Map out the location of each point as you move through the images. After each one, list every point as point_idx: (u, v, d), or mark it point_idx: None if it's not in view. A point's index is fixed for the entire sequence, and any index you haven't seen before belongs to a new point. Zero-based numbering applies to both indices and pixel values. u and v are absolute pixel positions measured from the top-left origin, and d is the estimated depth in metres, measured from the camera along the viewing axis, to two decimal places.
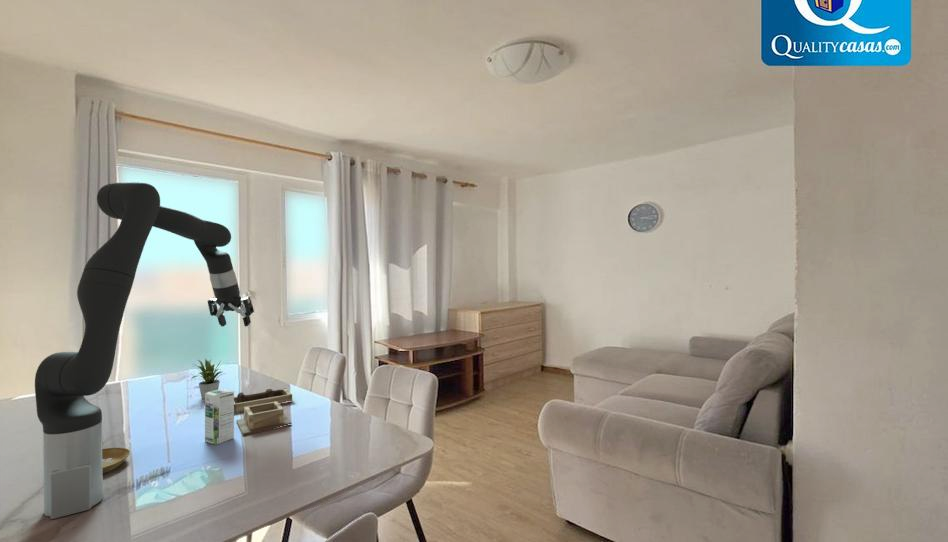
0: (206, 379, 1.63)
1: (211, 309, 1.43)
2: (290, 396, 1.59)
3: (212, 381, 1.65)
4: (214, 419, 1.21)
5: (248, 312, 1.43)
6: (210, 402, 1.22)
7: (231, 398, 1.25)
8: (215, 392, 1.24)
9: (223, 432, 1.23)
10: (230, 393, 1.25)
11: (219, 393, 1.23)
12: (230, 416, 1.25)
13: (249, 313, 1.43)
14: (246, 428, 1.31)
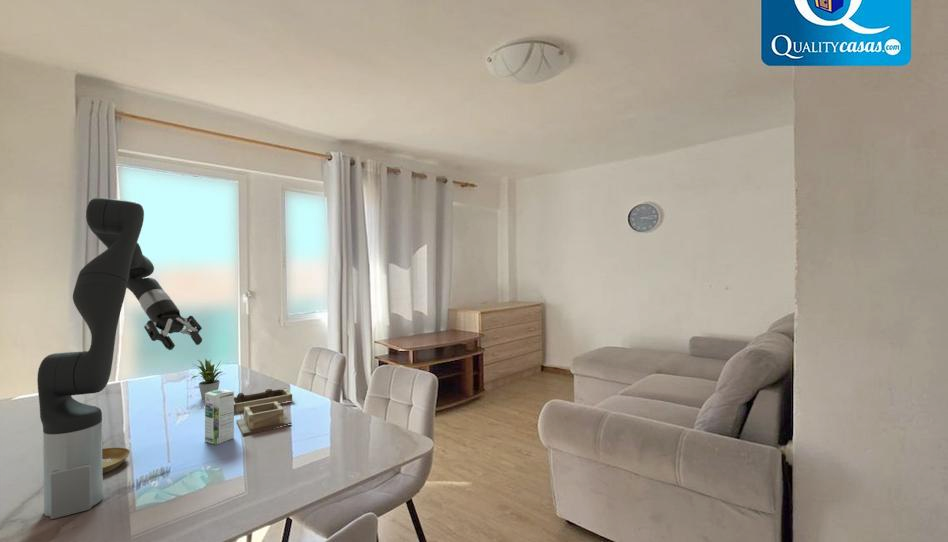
0: (206, 379, 1.63)
1: (155, 329, 1.22)
2: (290, 396, 1.59)
3: (212, 381, 1.65)
4: (214, 419, 1.21)
5: (199, 326, 1.34)
6: (210, 402, 1.22)
7: (231, 398, 1.25)
8: (215, 392, 1.24)
9: (223, 432, 1.23)
10: (230, 393, 1.25)
11: (219, 393, 1.23)
12: (230, 416, 1.25)
13: (200, 327, 1.34)
14: (246, 428, 1.31)
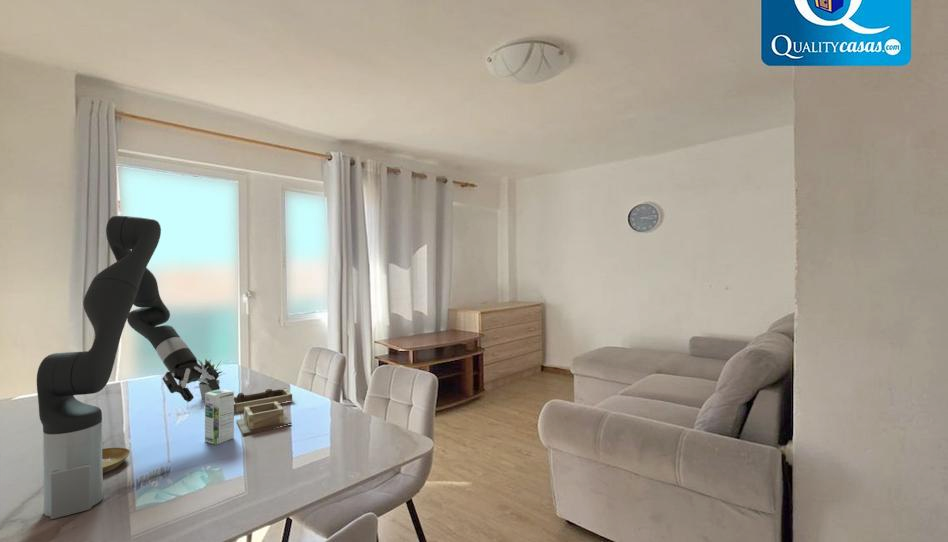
0: None
1: (174, 381, 1.21)
2: (290, 396, 1.59)
3: None
4: (214, 419, 1.21)
5: (216, 373, 1.33)
6: (210, 402, 1.22)
7: (231, 398, 1.25)
8: (215, 392, 1.24)
9: (223, 432, 1.23)
10: (230, 393, 1.25)
11: (219, 393, 1.23)
12: (230, 416, 1.25)
13: (217, 374, 1.33)
14: (246, 428, 1.31)
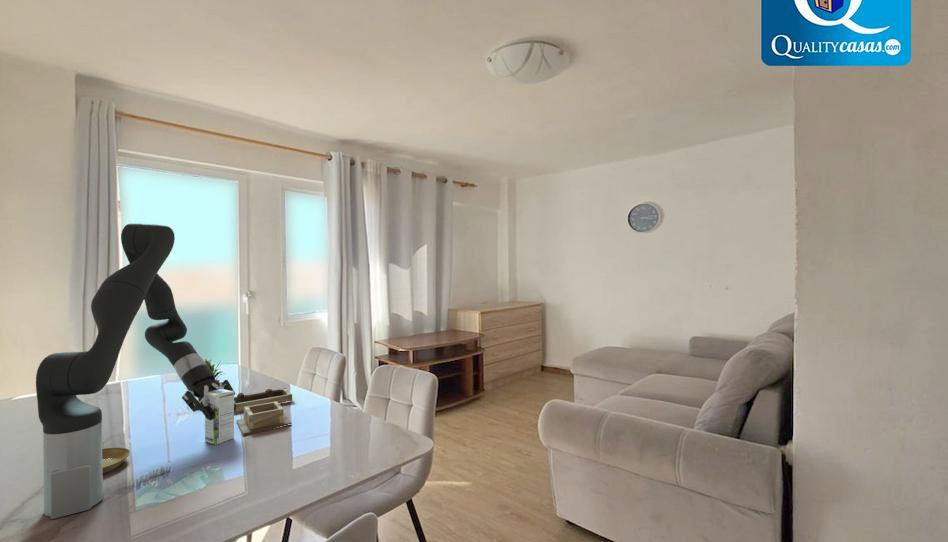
0: None
1: (195, 399, 1.20)
2: (290, 396, 1.59)
3: None
4: (214, 419, 1.21)
5: None
6: (210, 402, 1.22)
7: (231, 398, 1.25)
8: (215, 392, 1.24)
9: (223, 432, 1.23)
10: (230, 393, 1.25)
11: (219, 393, 1.23)
12: (230, 416, 1.25)
13: (234, 392, 1.31)
14: (246, 428, 1.31)
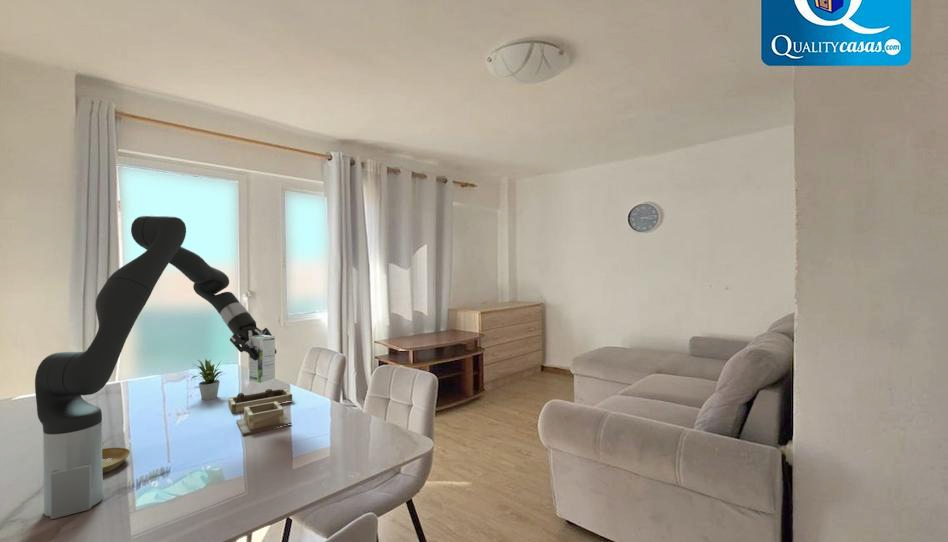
0: (206, 379, 1.63)
1: (241, 341, 1.32)
2: (290, 396, 1.59)
3: (212, 381, 1.65)
4: (259, 359, 1.33)
5: None
6: (254, 344, 1.35)
7: (272, 342, 1.37)
8: (258, 336, 1.36)
9: (266, 372, 1.35)
10: (272, 337, 1.37)
11: (262, 337, 1.35)
12: (272, 358, 1.37)
13: None
14: (246, 428, 1.31)
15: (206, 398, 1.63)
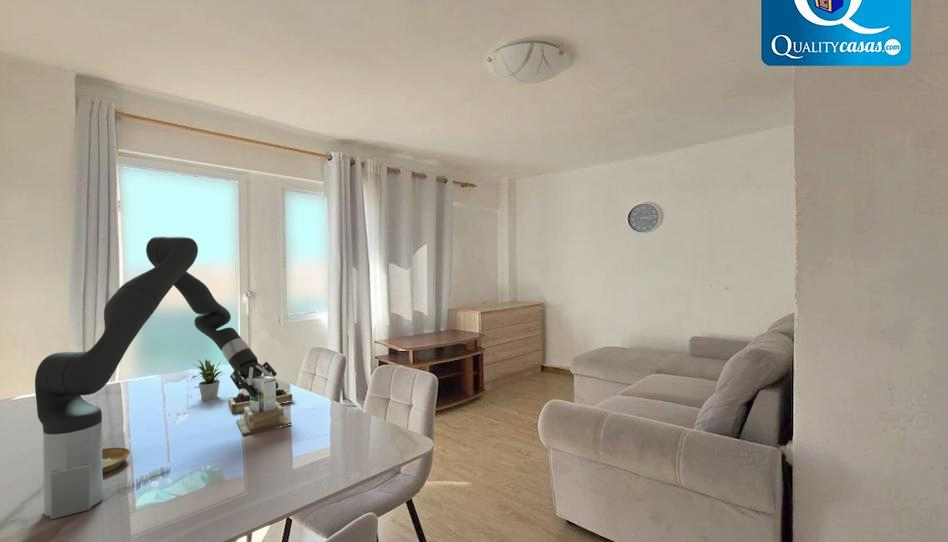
0: (206, 379, 1.63)
1: (241, 378, 1.32)
2: (290, 396, 1.59)
3: (212, 381, 1.65)
4: (260, 402, 1.33)
5: (274, 372, 1.44)
6: (255, 387, 1.34)
7: (273, 383, 1.38)
8: (259, 378, 1.36)
9: None
10: (272, 379, 1.37)
11: (263, 379, 1.35)
12: (273, 400, 1.37)
13: (275, 372, 1.44)
14: (246, 428, 1.31)
15: (206, 398, 1.63)
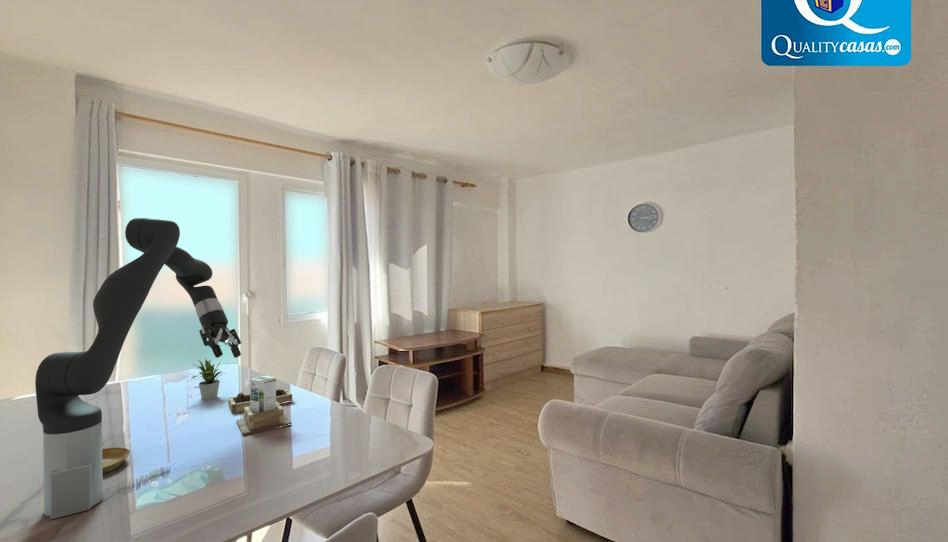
0: (206, 379, 1.63)
1: (210, 335, 1.33)
2: (290, 396, 1.59)
3: (212, 381, 1.65)
4: (260, 402, 1.33)
5: (239, 340, 1.45)
6: (255, 387, 1.35)
7: (274, 383, 1.38)
8: (259, 378, 1.36)
9: None
10: (273, 379, 1.37)
11: (263, 379, 1.35)
12: (273, 400, 1.37)
13: (240, 341, 1.45)
14: (246, 428, 1.31)
15: (206, 398, 1.63)
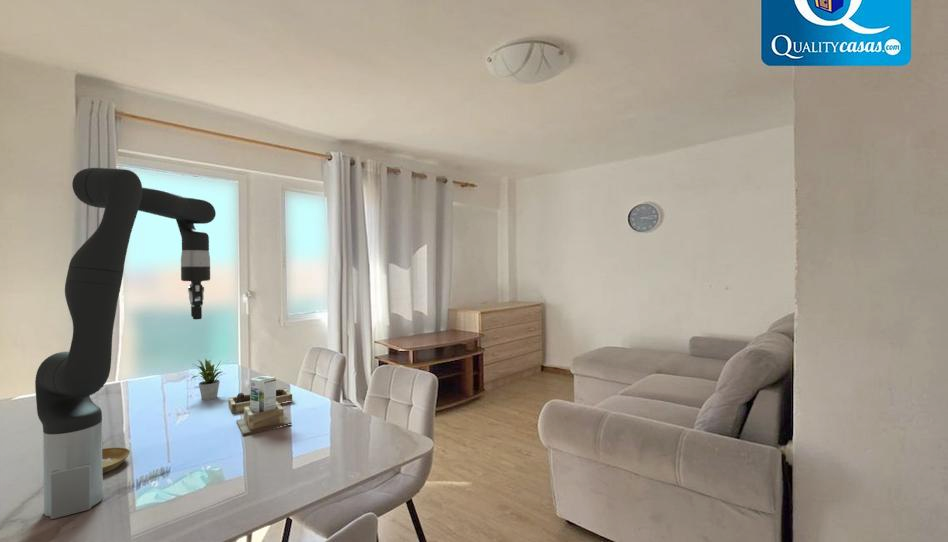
0: (206, 379, 1.63)
1: (202, 296, 1.24)
2: (290, 396, 1.59)
3: (212, 381, 1.65)
4: (260, 402, 1.33)
5: None
6: (255, 387, 1.35)
7: (274, 383, 1.38)
8: (259, 378, 1.36)
9: None
10: (273, 379, 1.37)
11: (263, 379, 1.35)
12: (273, 400, 1.37)
13: None
14: (246, 428, 1.31)
15: (206, 398, 1.63)
